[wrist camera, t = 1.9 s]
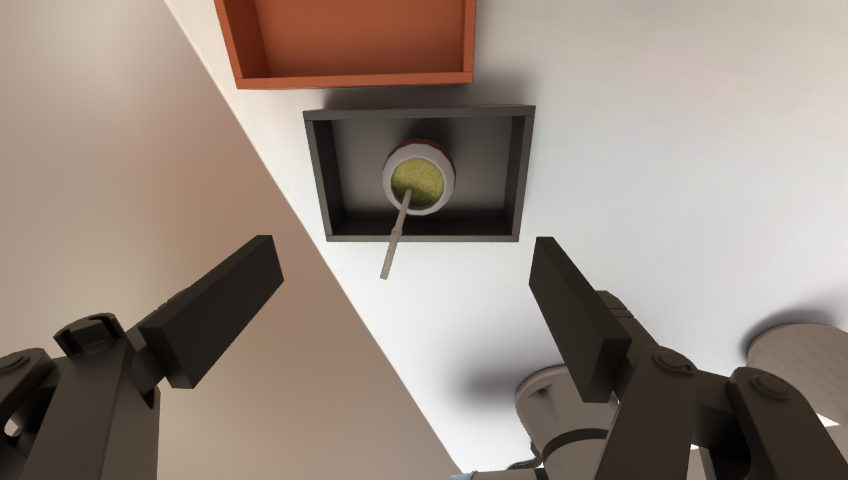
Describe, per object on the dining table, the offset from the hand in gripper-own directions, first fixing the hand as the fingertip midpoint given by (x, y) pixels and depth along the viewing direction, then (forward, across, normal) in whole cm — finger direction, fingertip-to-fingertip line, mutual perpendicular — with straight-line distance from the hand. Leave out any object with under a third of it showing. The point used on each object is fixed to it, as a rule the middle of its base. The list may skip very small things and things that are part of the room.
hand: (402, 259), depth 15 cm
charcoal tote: (+21, 0, 0) cm, 21 cm away
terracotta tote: (+21, +6, -15) cm, 26 cm away
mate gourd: (+21, 0, 0) cm, 21 cm away
